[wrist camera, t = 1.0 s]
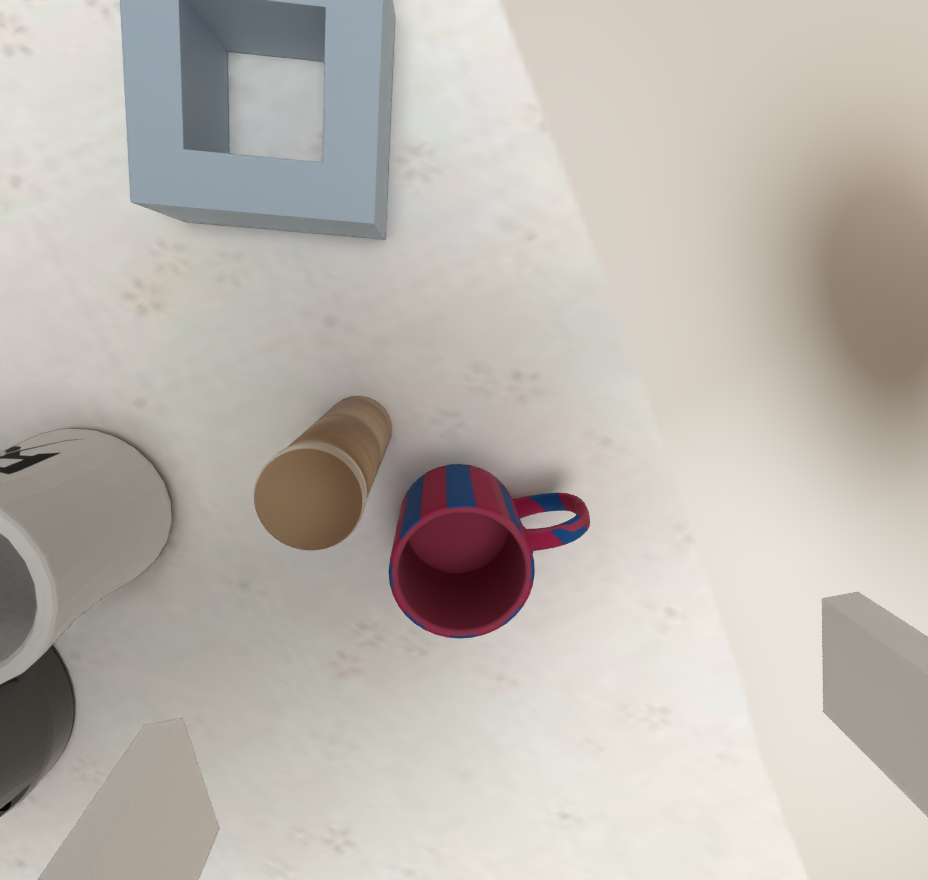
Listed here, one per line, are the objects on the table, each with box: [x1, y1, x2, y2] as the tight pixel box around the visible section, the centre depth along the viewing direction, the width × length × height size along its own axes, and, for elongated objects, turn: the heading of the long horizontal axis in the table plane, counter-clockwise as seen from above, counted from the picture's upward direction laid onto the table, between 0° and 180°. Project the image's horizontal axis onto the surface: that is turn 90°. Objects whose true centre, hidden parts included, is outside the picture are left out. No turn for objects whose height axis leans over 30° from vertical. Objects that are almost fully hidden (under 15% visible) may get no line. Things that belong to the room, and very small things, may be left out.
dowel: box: [254, 396, 392, 550], centre depth 24 cm, size 4×4×12 cm
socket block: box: [120, 0, 395, 240], centre depth 24 cm, size 10×10×5 cm
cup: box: [389, 464, 590, 638], centre depth 28 cm, size 7×10×7 cm
